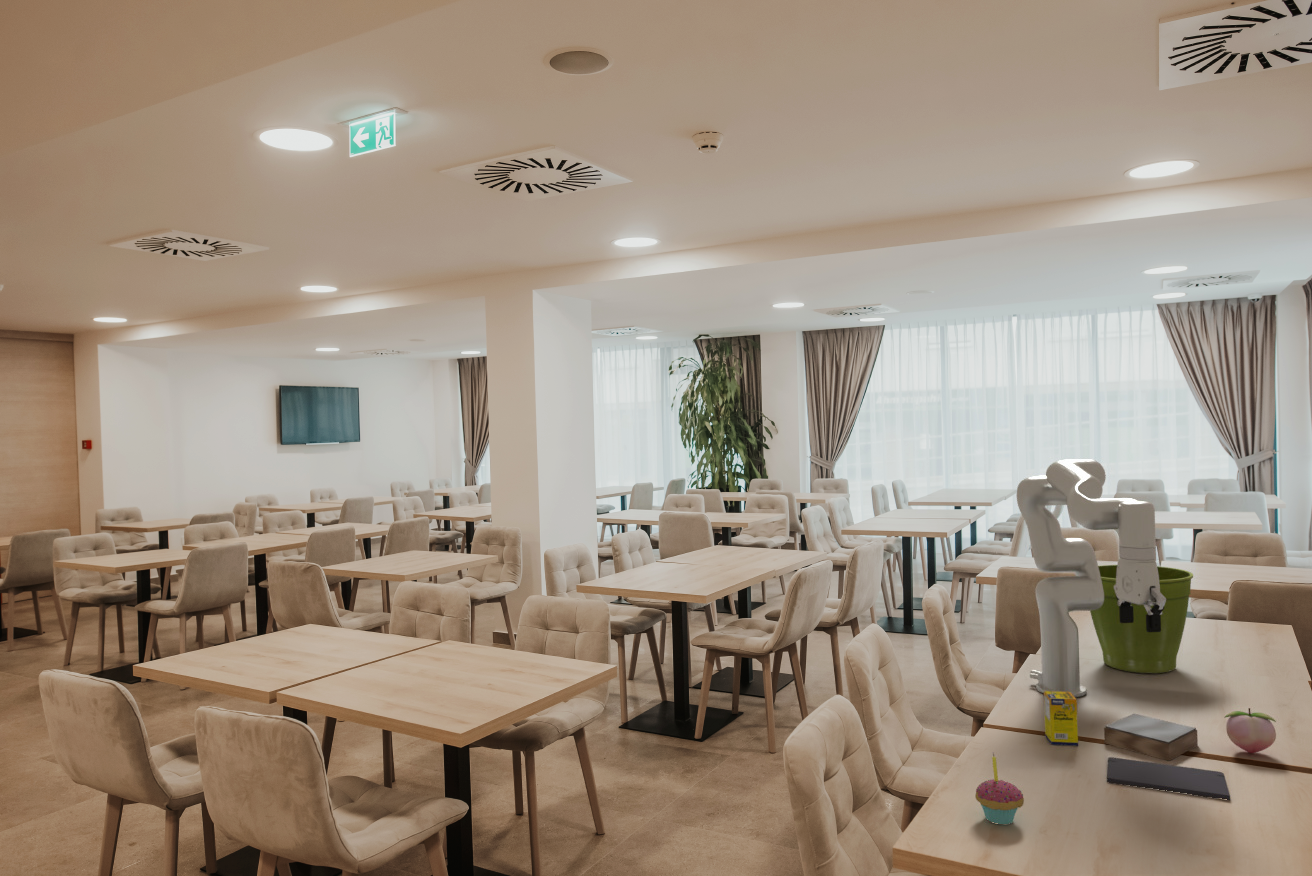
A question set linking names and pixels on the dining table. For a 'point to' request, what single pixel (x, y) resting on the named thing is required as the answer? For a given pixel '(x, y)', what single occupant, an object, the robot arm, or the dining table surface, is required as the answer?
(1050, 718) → the supplement box
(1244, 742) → the decorative fruit
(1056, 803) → the dining table surface
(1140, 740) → the dock
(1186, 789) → the notebook
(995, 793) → the cupcake
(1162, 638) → the plant pot
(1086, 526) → the robot arm
